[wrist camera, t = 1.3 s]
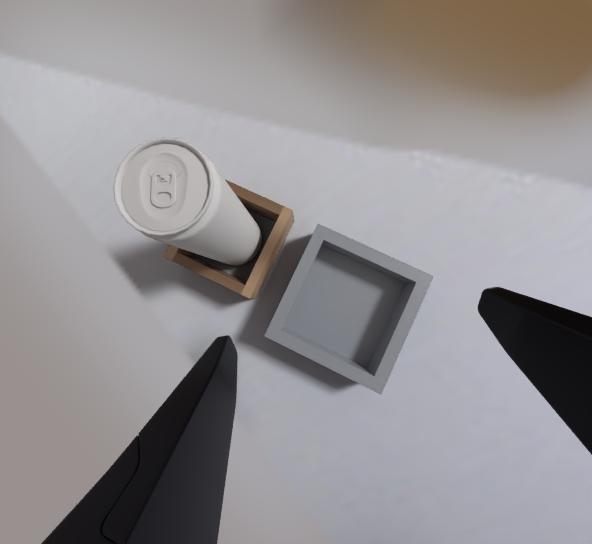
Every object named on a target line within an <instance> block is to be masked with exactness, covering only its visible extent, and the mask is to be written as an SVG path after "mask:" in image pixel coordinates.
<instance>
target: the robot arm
mask: <svg viewBox="0 0 592 544" xmlns="http://www.w3.org/2000/svg"><path fill="white" fill-rule="evenodd" d="M478 311H479V313H480V315H481V317H482V318H483V319H484V321H485V322H486V324H487V325H488V327H489V328H490V330H491V331H492V333H493V334H494V335H495V337H496V338H497V340H498V341H499V343H500V344H501V346H502V347H503V348H504V350H505V351H506V353H507V354H508V355H509V356H510V358H511V359H512V360H513V361H514V362H515V364H516V365H517V366H518V367H519V368H520V370H521V371H522V372H523V373H524V374H525V375H526V377H527V378H528V379H529V380H530V381H531V383H532V384H533V385H534V386H535V387H536V389H537V390H538V391H539V392H540V393H541V395H542V396H543V397H544V398H545V399H546V401H547V402H548V403H549V404H550V405H551V407H552V408H553V409H554V410H555V411H556V413H557V414H558V415H559V416H560V417H561V419H562V420H563V421H564V422H565V423H566V425H567V426H568V427H569V428H570V429H571V430H572V432H573V433H574V434H575V435H576V436H577V438H578V439H579V440H580V441H581V442H582V444H583V445H584V446H585V447H586V448H587V450H588V451H589V452H590V453H591V454H592V317H590V316H587V315H583V314H580V313H577V312H574V311H571V310H568V309H565V308H562V307H559V306H556V305H553V304H550V303H547V302H544V301H540V300H537V299H534V298H531V297H528V296H525V295H522V294H519V293H516V292H513V291H510V290H507V289H504V288H500V287H493V288H487V289H485V290H484V291H483V292H482V295H481V298H480V301H479V304H478ZM236 393H237V351H236V348H235V346H234V344H233V342H232V339H231V338H230V336H221V337H218V338H216V339H215V341H214V342H213V343H212V344H211V346H210V347H209V348H208V349H207V350H206V352H205V353H204V354H203V355H202V357H201V358H200V359H199V360H198V361H197V363H196V364H195V365H194V366H193V368H192V369H191V370H190V371H189V373H188V374H187V375H186V377H184V379H183V380H182V381H181V382H180V384H179V385H178V386H177V387H176V388H175V390H174V391H173V392H172V394H171V395H170V396H169V397H168V398H167V400H166V401H165V402H164V403H163V404H162V406H161V407H160V408H159V409H158V410H157V412H156V413H155V414H154V415H153V417H152V418H151V419H150V420H149V421H148V423H147V424H146V425H145V426H144V428H143V429H142V430H141V431H140V433H139V436H136V437H135V438H134V440H133V441H132V442H131V443H130V445H129V446H128V447H127V448H126V450H125V451H124V452H123V453H122V454H121V455H120V457H119V458H118V459H117V460H116V461H115V463H114V464H113V465H112V466H111V467H110V468H109V470H108V471H107V472H106V473H105V474H104V475H103V476H102V478H101V479H100V480H99V481H98V482H97V483H96V484H95V486H94V487H93V488H92V489H91V490H90V491H89V492H88V493H87V494H86V495H85V497H84V498H83V499H82V500H81V501H80V502H79V503H78V504H77V505H76V506H75V508H74V509H73V510H72V511H71V512H70V513H69V514H68V515H67V516H66V517H65V518H64V519H63V521H62V522H61V523H60V524H59V525H58V526H57V527H56V529H54V531H52V533H51V534H50V535H49V536H48V537H47V538H46V539H45V540H44V541H43V542H42V544H217V540H218V532H219V525H220V517H221V510H222V503H223V495H224V487H225V480H226V473H227V465H228V458H229V450H230V443H231V436H232V428H233V421H234V413H235V406H236Z"/></svg>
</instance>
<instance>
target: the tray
mask: <svg viewBox="0 0 592 544" xmlns="http://www.w3.org/2000/svg"><path fill="white" fill-rule="evenodd" d="M432 279H433V276H432V275H430V274H428V273H425V272H423V271H421V270H419V269H417V268H414V267H412V266H410V265H408V264H406V263H403V262H401V261H399V260H397V259H395V258H392V257H390V256H388V255H386V254H384V253H381V252H379V251H377V250H375V249H373V248H370V247H368V246H366V245H364V244H362V243H359V242H357V241H355V240H353V239H351V238H348V237H346V236H344V235H342V234H340V233H337V232H335V231H333V230H331V229H329V228H326V227H324V226H322V225H320V224H317V226H316V228H315V231H314V233H313V235H312V237H311V239H310V241H309V243H308V245H307V247H306V249H305V251H304V254H303V256H302V258H301V260H300V262H299V264H298V266H297V268H296V270H295V272H294V274H293V277H292V279H291V281H290V283H289V285H288V287H287V289H286V291H285V293H284V295H283V297H282V300H281V302H280V304H279V306H278V308H277V310H276V312H275V314H274V316H273V318H272V320H271V323H270V325H269V327H268V329H267V331H266V333H265V335H264V336H265V337H267V338H269V339H271V340H273V341H275V342H277V343H279V344H281V345H283V346H285V347H287V348H289V349H291V350H293V351H295V352H297V353H299V354H301V355H303V356H305V357H307V358H309V359H311V360H313V361H315V362H317V363H319V364H321V365H323V366H325V367H327V368H329V369H331V370H333V371H335V372H337V373H339V374H341V375H343V376H345V377H347V378H349V379H351V380H353V381H355V382H357V383H359V384H361V385H363V386H365V387H367V388H369V389H371V390H373V391H375V392H377V393H379V394H382V391H383V389H384V387H385V385H386V382H387V380H388V378H389V376H390V373H391V371H392V369H393V367H394V364H395V362H396V360H397V358H398V355H399V353H400V351H401V349H402V346H403V344H404V342H405V340H406V337H407V335H408V333H409V331H410V328H411V326H412V324H413V322H414V319H415V317H416V315H417V313H418V310H419V308H420V306H421V303H422V301H423V299H424V297H425V294H426V292H427V290H428V288H429V285H430V283H431V281H432Z"/></svg>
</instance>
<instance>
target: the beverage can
mask: <svg viewBox="0 0 592 544" xmlns="http://www.w3.org/2000/svg"><path fill="white" fill-rule="evenodd" d="M114 198H115V202H116V205H117V208H118V210H119V212H120V214H121V215H122V216H123V218H124V219H125V220H126V222H127V223H129V224H130V225H131V226H133V227H134V228H135V229H137V230H138V231H140V232H142V233H143V234H144V235H145V236H147V237H150V238H152V239H155V240H158V241H160V242H163V243H166V244H169V245H172V246H175V247H178V248H181V249H184V250H187V251H190V252H193V253H196V254H199V255H202V256H205V257H208V258H211V259H214V260H217V261H219V262H222V263H225V264H228V265H235V266H237V265H243V264H245V263H247V262H249V261H250V260H252V259H253V258H254V257H255V255H256V254H257V253H258V251H259V249H260V246H261V242H262V234H261V230H260V228H259V226H258V225H257V223H256V222H255V220H254V219H253V218H252V216H251V215H250V214H249V212H248V211H247V210H246V208H245V207H244V205H243V204H242V203H241V201H240V200H239V199H238V197H237V196H236V194H235V193H234V192H233V190H232V189H231V188H230V186H229V185H228V183H227V182H226V181H225V179H224V178H223V177H222V175H221V174H220V172H219V171H218V170H217V168H216V167H215V166H214V165H213V163H212V162H211V161H210V160H209V159H208V157H207V156H205V155H204V154H202V153H201V152H200V151H199V150H198V149H196V148H195V147H194V146H192V145H191V144H189V143H188V142H185V141H182V140H179V139H176V138H164V137H163V138H158V139H152V140H149V141H147V142H145V143H142V144H140V145H138V146H137V147H136V148H135V149H133V150H132V151H131V152H130V153H128V155H127V156H126V157H125V159H124V160H123V161H122V162H121V164H120V166H119V169H118V171H117V173H116V176H115V182H114Z"/></svg>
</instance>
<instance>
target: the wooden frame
mask: <svg viewBox="0 0 592 544" xmlns="http://www.w3.org/2000/svg"><path fill="white" fill-rule="evenodd" d="M225 181H226V182H227V183H228V185H229V186H230V188H231V189H232V190H233V192H234V193H235V194H236V196H237V197H238V199H239V200H240V201H241V203H242V204H243V205H244V207H245V208H247V209H249V210H252V211H254V212H256V213H258V214H260V215H262V216H265V217H267V218H269V219H271V220H273V221H276V223H275V225H274V227H273V230H272V232H271V234H270V236H269V238H268V240H267V242H266V244H265V246H264V248H263V250H262V252H261V254H260V256H259V258H258V260H257V262H256V264H255V266H254V268H253V270H252V272H251V275H250V277H249V279H248V281H247V283H246V282H244V281H242V280H240V279H238V278H236V277H234V276H231V275H229V274H227V273H225V272H223V271H221V270H219V269H217V268H215V267H213V266H211V265H209V264H207V263H205V262H203V261H201V260H198V259H196V258H194V255H195V253H193V252H190V251H187V250H184V249H181V248H178V247H175V246H172V245H169V247H168V249H167V251H166V253H165V255H164V257H165V258H167V259H170V260H172V261H174V262H176V263H178V264H180V265H182V266H184V267H186V268H188V269H190V270H192V271H194V272H196V273H198V274H200V275H202V276H204V277H206V278H208V279H210V280H212V281H214V282H217V283H219V284H221V285H223V286H225V287H227V288H229V289H231V290H233V291H235V292H237V293H239V294H241V295H243V296H245V297H247V298H249V299H251V298H257V297H258V295H259V293H260V291H261V289H262V287H263V285H264V282H265V280H266V278H267V276H268V274H269V272H270V270H271V268H272V266H273V264H274V262H275V260H276V258H277V256H278V254H279V252H280V249H281V247H282V245H283V243H284V241H285V239H286V237H287V235H288V233H289V231H290V229H291V227H292V225H293V223H294V216H293V210H291V209H289V208H286V207H284V206H282V205H280V204H278V203H275V202H273V201H271V200H269V199H267V198H264V197H262V196H260V195H258V194H256V193H253V192H251V191H249V190H247V189H245V188H242V187H240V186H238V185H236V184H234V183H231V182H229V181H227V180H225Z"/></svg>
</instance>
